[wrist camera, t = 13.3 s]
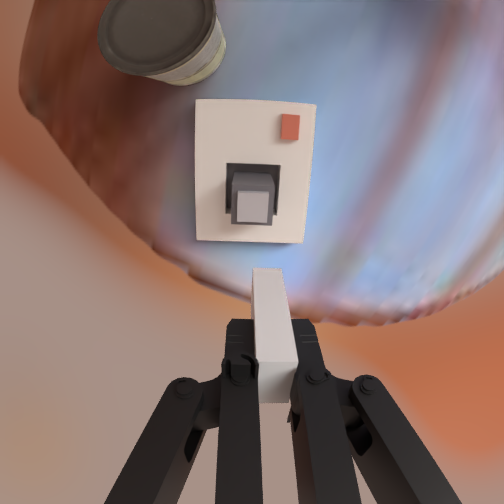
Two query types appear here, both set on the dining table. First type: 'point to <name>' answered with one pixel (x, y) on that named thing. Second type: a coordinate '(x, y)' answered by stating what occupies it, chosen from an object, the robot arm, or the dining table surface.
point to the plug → (252, 198)
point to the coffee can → (162, 39)
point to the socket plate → (252, 165)
